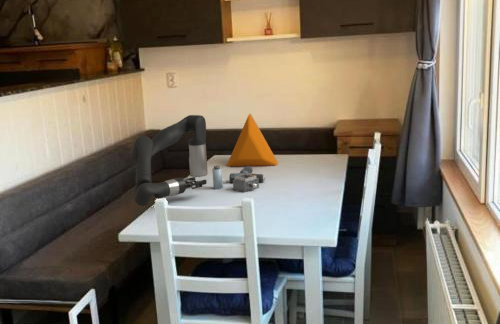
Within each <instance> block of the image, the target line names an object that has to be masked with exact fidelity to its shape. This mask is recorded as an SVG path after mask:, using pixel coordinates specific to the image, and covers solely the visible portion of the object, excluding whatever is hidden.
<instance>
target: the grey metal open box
mask: <svg viewBox="0 0 500 324" xmlns="http://www.w3.org/2000/svg"><path fill="white" fill-rule="evenodd" d="M251 174H252V173H251ZM251 174H242V175H239V176H236V177H235V180H233V182H232V188H233V191H236V192H241V193H247V192H251V191H253V190H256V189H259V188H260V182H259V178H256V175H251Z"/></svg>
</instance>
